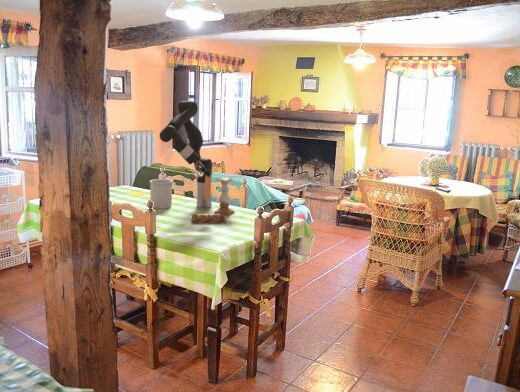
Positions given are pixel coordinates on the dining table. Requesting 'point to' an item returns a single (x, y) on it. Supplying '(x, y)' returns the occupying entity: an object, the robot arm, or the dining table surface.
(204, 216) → the offcut block
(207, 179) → the slat
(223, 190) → the candle holder
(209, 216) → the offcut block
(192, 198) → the dining table surface
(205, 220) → the rack
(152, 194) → the utensil holder
